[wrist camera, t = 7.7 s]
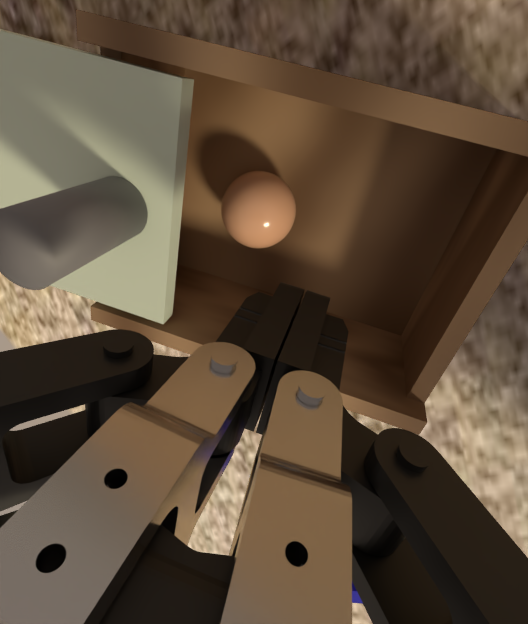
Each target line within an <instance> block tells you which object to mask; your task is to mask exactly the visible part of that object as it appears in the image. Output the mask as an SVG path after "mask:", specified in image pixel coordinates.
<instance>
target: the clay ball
mask: <svg viewBox="0 0 528 624" xmlns="http://www.w3.org/2000/svg"><path fill="white" fill-rule="evenodd" d="M221 215H222V220H223V223H224V225H225V228H226V229H227V231H228V232H229V234H230V235H231V236H232V237H233V238H234V239H235V240H236V241H238V242H239V243H241V244H243V245H245V246H247V247H251V248H267V247H270V246H273V245H275V244H277V243H278V242H280V241H281V240H282V239H284V238H285V237H286V235H287V234H288V233H289V232H290V230H291V228H292V226H293V224H294V221H295V216H296V203H295V199H294V196H293V193H292V191H291V189H290V188H289V186H288V185H287V184H286V183H285V182H284V181H283V180H282V179H281V178H280V177H278V176H276V175H274V174H272V173H269V172H265V171H251V172H247V173H245V174H242V175H241V176H239V177H237V178H236V179H235V180H234V181H233V182H232V183H231V184H230V185H229V186H228V188H227V190H226V191H225V193H224V196H223V199H222V204H221Z"/></svg>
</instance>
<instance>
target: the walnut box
mask: <svg viewBox="0 0 528 624" xmlns="http://www.w3.org/2000/svg"><path fill="white" fill-rule="evenodd" d="M76 24H77V40H79V41H82V42H86V43H90V44H94V45H98V46H100V48H101V55H103V56H107V57H110V58H114V59H118V60H122V61H126V62H129V63H133V64H137V65H141V66H145V67H149V68H152V69H156V70H160V71H164V72H168V73H172V74H175V75H179V76H183V77H187V78H191V79H194V86H193V97H192V108H191V118H190V129H189V140H188V151H187V162H186V173H185V183H184V194H183V205H182V216H181V227H180V238H179V249H178V259H177V270H176V281H175V292H174V303H173V314H172V316H171V317H170V318H169V319H168V320H167V321H166V322H165V323H164V324H161V323H158V322H155V321H152V320H149V319H146V318H143V317H140V316H137V315H134V314H131V313H129V312H126V311H123V310H120V309H117V308H114V307H111V306H108V305H105V304H102V303H99V302H96V303H94V304H93V305H92V306H91V320H93V321H96V322H99V323H102V324H105V325H108V326H110V327H113V328H116V329H122V330H131V331H135V332H138V333H140V334H142V335H144V336H146V337H147V338H148V339H149V340H150V341H153V342H156V343H159V344H162V345H165V346H167V347H170V348H173V349H176V350H179V351H182V352H185V353H187V354H190V355H191V354H192V353H193V352H194V351H195V350H196V349H197V348H199V347H200V346H202V345H204V344H207V343H212V342H216V340H217V339H218V338H219V336H220V335H221V333H222V332H223V330H224V329H225V328H226V326H227V325H228V323H229V322H230V320H231V319H232V318H233V316H234V315H235V313H236V312H237V310H238V309H240V306H241V305H242V303H243V302H244V300H245V299H246V298H247V297H249V296H251V295H253V294H255V293H257V292H261V293H264V294H267V295H270V296H273V295H274V293H275V291H276V289H277V288H278V286H279V284H280V283H281V282H283V283H287V284H290V285H293V286H296V287H299V288H302V289H305V290H304V294H303V298H304V295H305V293H306V290H308V291H312V292H315V293H318V294H321V295H324V296H327V297H330V302H329V305H328V309H327V312H326V314H328V315H331V316H334V317H337V318H340V319H343V321H344V323H345V325H346V327H347V329H348V331H349V332H348V338H347V344H346V351H345V358H344V364H343V370H342V377H341V383H340V390H339V392H340V394H341V396H342V399H343V406H344V407H345V409H347V410H350V411H353V412H356V413H359V414H362V415H364V416H367V417H370V418H373V419H376V420H379V421H382V422H384V423H387V424H390V425H393V426H396V427H399V428H402V429H404V430H407V431H410V432H413V433H416V434H420V433H421V431H422V430H423V428H424V427H425V425H426V424H427V418H426V411H425V404H424V403H425V401H426V400H427V398H428V397H429V395H430V393H431V392H432V390H433V389H434V387H435V385H436V384H437V382H438V381H439V379H440V378H441V376H442V374H443V373H444V371H445V370H446V368H447V366H448V365H449V363H450V362H451V360H452V359H453V357H454V355H455V354H456V352H457V351H458V349H459V347H460V346H461V344H462V343H463V341H464V340H465V338H466V336H467V335H468V333H469V332H470V330H471V328H472V327H473V325H474V324H475V322H476V321H477V319H478V317H479V316H480V314H481V313H482V311H483V309H484V308H485V306H486V305H487V303H488V302H489V300H490V298H491V297H492V295H493V294H494V292H495V290H496V289H497V287H498V286H499V284H500V283H501V281H502V279H503V278H504V276H505V275H506V273H507V271H508V270H509V268H510V267H511V265H512V263H513V262H514V260H515V259H516V257H517V256H518V254H519V252H520V251H521V249H522V248H523V246H524V244H525V243H526V241H527V240H528V121H524V120H520V119H516V118H512V117H508V116H504V115H500V114H496V113H492V112H488V111H484V110H480V109H476V108H472V107H468V106H463V105H459V104H455V103H451V102H447V101H443V100H439V99H435V98H431V97H427V96H423V95H419V94H415V93H411V92H407V91H403V90H399V89H395V88H391V87H387V86H383V85H379V84H375V83H371V82H367V81H363V80H359V79H355V78H351V77H347V76H343V75H339V74H335V73H331V72H327V71H323V70H318V69H314V68H310V67H306V66H302V65H298V64H294V63H290V62H286V61H282V60H278V59H274V58H270V57H266V56H262V55H258V54H254V53H250V52H246V51H242V50H238V49H234V48H230V47H226V46H222V45H218V44H214V43H210V42H206V41H202V40H198V39H194V38H190V37H186V36H182V35H178V34H174V33H169V32H165V31H161V30H157V29H153V28H149V27H145V26H141V25H137V24H133V23H129V22H125V21H121V20H117V19H113V18H109V17H105V16H101V15H97V14H93V13H89V12H85V11H81V10H77V9H76ZM251 171H265V172H269V173H272V174H274V175H276V176H278V177H280V178H281V179H282V180H283V181H284V182H285V183H286V184H287V185H288V186H289V188H290V189H291V191H292V193H293V196H294V199H295V203H296V216H295V221H294V224H293V226H292V228H291V230H290V232H289V233H288V234H287V235H286V237H285V238H284V239H282V240H281V241H280V242H278V243H277V244H275V245H273V246H270V247H267V248H251V247H247V246H245V245H243V244H241V243H239V242H238V241H236V240H235V239H234V238H233V237H232V236H231V235H230V234H229V232H228V231H227V229H226V228H225V225H224V223H223V220H222V215H221V204H222V199H223V196H224V193H225V191H226V190H227V188H228V186H229V185H230V184H231V183H232V182H233V181H234V180H235V179H236V178H237V177H239V176H241V175H242V174H245V173H247V172H251ZM303 298H302V300H303ZM301 302H302V301H301ZM300 305H301V304H300Z"/></svg>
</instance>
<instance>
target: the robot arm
mask: <svg viewBox="0 0 528 624" xmlns="http://www.w3.org/2000/svg"><path fill="white" fill-rule="evenodd" d="M304 290H305V289H302V288H299V287H296V286H293V285H290V284H287V283H283V282H281V283H280V284H279V286H278V288H277V289H276V291H275V293H274V295H273V296H270V295H267V294H264V293H261V292H257V293H255V294H253V295H251V296H249V297H247V298H246V299H245V300H244V302H243V303H242V305H241V306H240V309H238V310H237V312H236V313H235V315H234V316H233V318H232V319H231V320H230V322H229V323H228V325H227V326H226V328H225V329H224V330H223V332H222V333H221V335H220V336H219V338H218V339H217V340H216V342H212V343H207V344H204V345H202V346H200V347H199V348H197V349H196V350H195V351H194V352H193V353H192V354H191V355H190V357H172V356H163V355H154V354H153V353H154V348H153V345H152V343H151V341H150V340H149V339H148V338H147V337H146V336H144V335H142V334H140V333H138V332H135V331H131V330H122V329H117V330H108V331H103V332H98V333H93V334H88V335H83V336H78V337H73V338H68V339H63V340H58V341H53V342H48V343H43V344H38V345H33V346H28V347H23V348H18V349H13V350H8V351H3V352H0V511H2V510H5V509H7V508H10V507H12V506H15V505H17V504H20V503H22V502H25V501H27V500H28V501H27V502H26V503H25V504H24V505H23V506H22V507H21V508H20V509H19V510H17V511H14V512H11V513H8V514H4V515H2V516H0V624H352V582H353V584H354V586H355V588H356V590H357V592H358V594H359V596H360V598H361V600H362V602H363V604H364V606H365V608H366V610H367V613H368V615H369V617H370V619H371V621H372V623H373V624H528V558H527V557H526V555H525V554H524V553H523V552H522V551H521V549H520V548H519V547H518V546H517V545H516V544H515V542H514V541H513V540H512V539H511V538H510V536H509V535H508V534H507V533H506V532H505V530H504V529H503V528H502V527H501V526H500V525H499V523H498V522H497V521H496V520H495V519H494V517H493V516H492V515H491V514H490V513H489V511H488V510H487V509H486V508H485V507H484V506H483V504H482V503H481V502H480V501H479V500H478V498H477V497H476V496H475V495H474V494H473V492H472V491H471V490H470V489H469V488H468V487H467V485H466V484H465V483H464V482H463V481H462V479H461V478H460V477H459V476H458V475H457V473H456V472H455V471H454V470H453V469H452V467H451V466H450V465H449V464H448V463H447V462H446V460H445V459H444V458H443V457H442V456H441V454H440V453H439V452H438V451H437V450H436V449H435V448H434V447H433V446H432V445H431V444H430V443H429V442H428V441H426V440H425V439H424V438H422V437H420V436H419V435H417V434H415V433H413V432H410V431H407V430H404V429H399V428H390V429H386V430H383V431H382V432H380V433H379V434H378V435H377V434H376V433H374V432H373V431H371V430H370V429H368V428H367V427H365V426H364V425H362V424H361V423H359V422H358V421H357V420H355V419H354V418H353V417H352V416H351V415H350V414H349V413H348V412H347V410H346V409H345V407H344V406H343V399H342V396H341V394H340V392H339V390H340V383H341V377H342V370H343V364H344V358H345V351H346V344H347V338H348V332H349V331H348V329H347V327H346V325H345V323H344V321H343V319H340V318H337V317H334V316H331V315H328V314H326V312H327V309H328V305H329V302H330V297H327V296H324V295H321V294H318V293H315V292H312V291H308V290H306V293H305V295H304V298H303V294H304ZM302 298H303V300H302ZM301 301H302V302H301ZM300 304H301V305H300ZM84 404H85V410H84V411H81V412H78V413H74V414H71V415H68V416H65V417H62V418H58V419H55V420H52V421H49V422H46V423H42V424H39V425H36V426H32V427H29V428H26V429H23V430H18V431H9V430H10V429H11V428H13V427H15V426H16V425H18V424H21V423H24V422H27V421H30V420H34V419H37V418H40V417H43V416H47V415H50V414H54V413H57V412H60V411H64V410H67V409H70V408H74V407H77V406H80V405H84ZM263 406H264V408H263ZM262 409H263V411H262ZM261 411H262V414H261ZM260 414H261V418H260V421H259V424H258V428H257V431H256V433H259V434H262V438H261V441H260V444H259V447H258V451H257V454H256V457H255V460H254V463H253V467H252V470H251V474H250V478H249V482H248V486H247V489H246V493H245V497H244V501H243V504H242V508H241V512H240V516H239V519H238V523H237V527H236V531H235V534H234V538H233V542H232V545H231V549H230V552H229V556H227V555H219V554H210V553H202V552H197V551H195V550H192V549H191V548H189V547H188V546H187V545H188V542H189V539H190V537H191V534H192V532H193V529H194V527H195V525H196V523H197V521H198V519H199V517H200V515H201V513H202V511H203V509H204V508H205V506H206V504H207V502H208V500H209V498H210V496H211V494H212V493H213V491H214V489H215V487H216V485H217V483H218V481H219V480H220V478H221V476H222V474H223V472H224V470H225V468H226V466H227V465H228V463H229V461H230V459H231V457H232V455H233V453H234V449H235V447H236V445H237V444H238V442H239V440H240V438H241V436H242V433H243V431H244V429H248V430H251V431H253V432H254V429H255V426H256V424H257V421H258V419H259V416H260Z"/></svg>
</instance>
